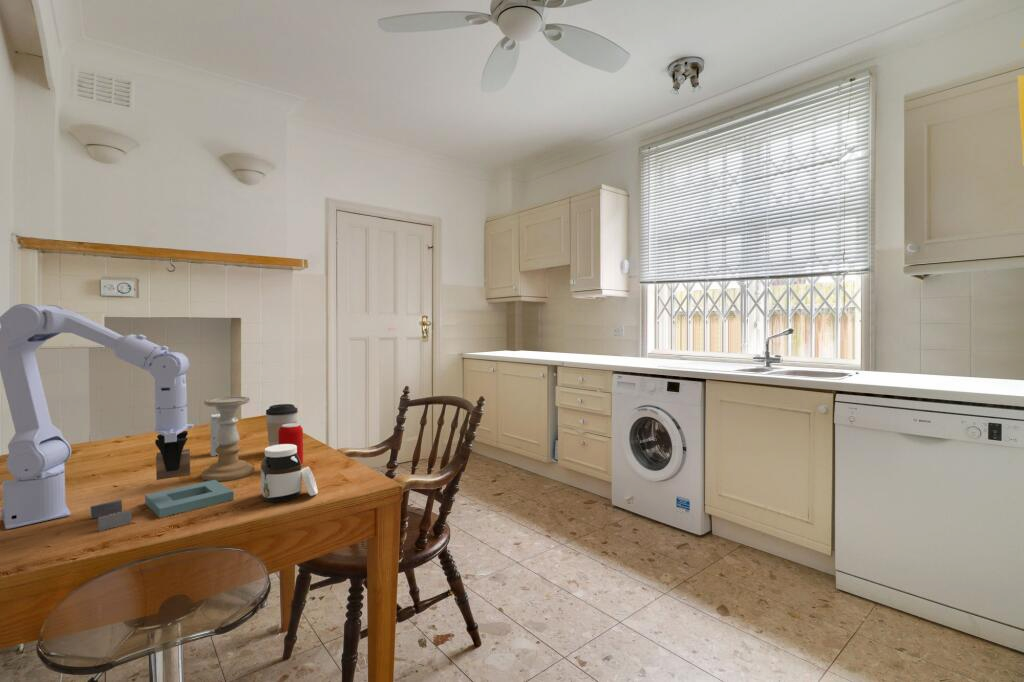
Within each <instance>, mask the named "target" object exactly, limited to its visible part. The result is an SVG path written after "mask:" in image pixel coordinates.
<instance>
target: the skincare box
mask: <svg viewBox="0 0 1024 682" xmlns="http://www.w3.org/2000/svg"><path fill="white" fill-rule="evenodd" d="M219 418H220V413H215V414H210V457H214V456H215V457H216V455H217V456H219V454H217V453H216V452H215V450H216V448H217V447H218V446H219V444H217V442H216V438H217V435H218V431H219V424H217V420H218V419H219Z"/></svg>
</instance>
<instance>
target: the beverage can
mask: <svg viewBox="0 0 1024 682" xmlns="http://www.w3.org/2000/svg"><path fill="white" fill-rule="evenodd" d="M303 432H304V428H303V427H302V426H301V424H300V423H298V422H297V423H289V424H284V425H282V426H281V427H280V429H279V431H278V440H279V445H280V444H293V445H296V446H297V453H296V454H297V455H298V457H299V459H300V462H301V466H302V465H303V463H304V439H303V438H304V434H303Z"/></svg>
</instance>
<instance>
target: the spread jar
mask: <svg viewBox="0 0 1024 682" xmlns="http://www.w3.org/2000/svg"><path fill="white" fill-rule="evenodd" d="M296 453H297V446H296V445H293V444H280V445H273V446H269V445H268V446H267V447H265V448H264V457H263V459H262V460H261V464H260V489H261V495H262V497H263V499H264V501H267V502H268V503H269V502H270V503H283V502H287V500H288V501H290V499H291V500H294V499H295V498H296V497H298V496H299V495H300V494H301V493H302V489H303V488H302V487H303V484H304V486H305V489H306V491H307V493H308V495H309V496H310V497H313V496H316V495H318V492H319V489H318V486H317V482H316V479H315V477H314V474H313V472H312V470H311V468H310V467H309V466H306V467H302V465H301V462H300V459H299V457H298V455H297V454H296ZM282 501H283V502H282Z"/></svg>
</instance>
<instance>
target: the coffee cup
mask: <svg viewBox="0 0 1024 682" xmlns="http://www.w3.org/2000/svg"><path fill="white" fill-rule="evenodd" d="M298 412H299V411H298V408H297V407H295V405H294V404H290V403H282V404H281V403H279V404H273V405H270V406H269V408H268V409H266V411H265V415H266V431H267V441H268V447H269V446H273V445H279V440H278V431H279V429H280V427H281V426H282V425H284V424H289V423H298V419H297V418H298Z"/></svg>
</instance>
